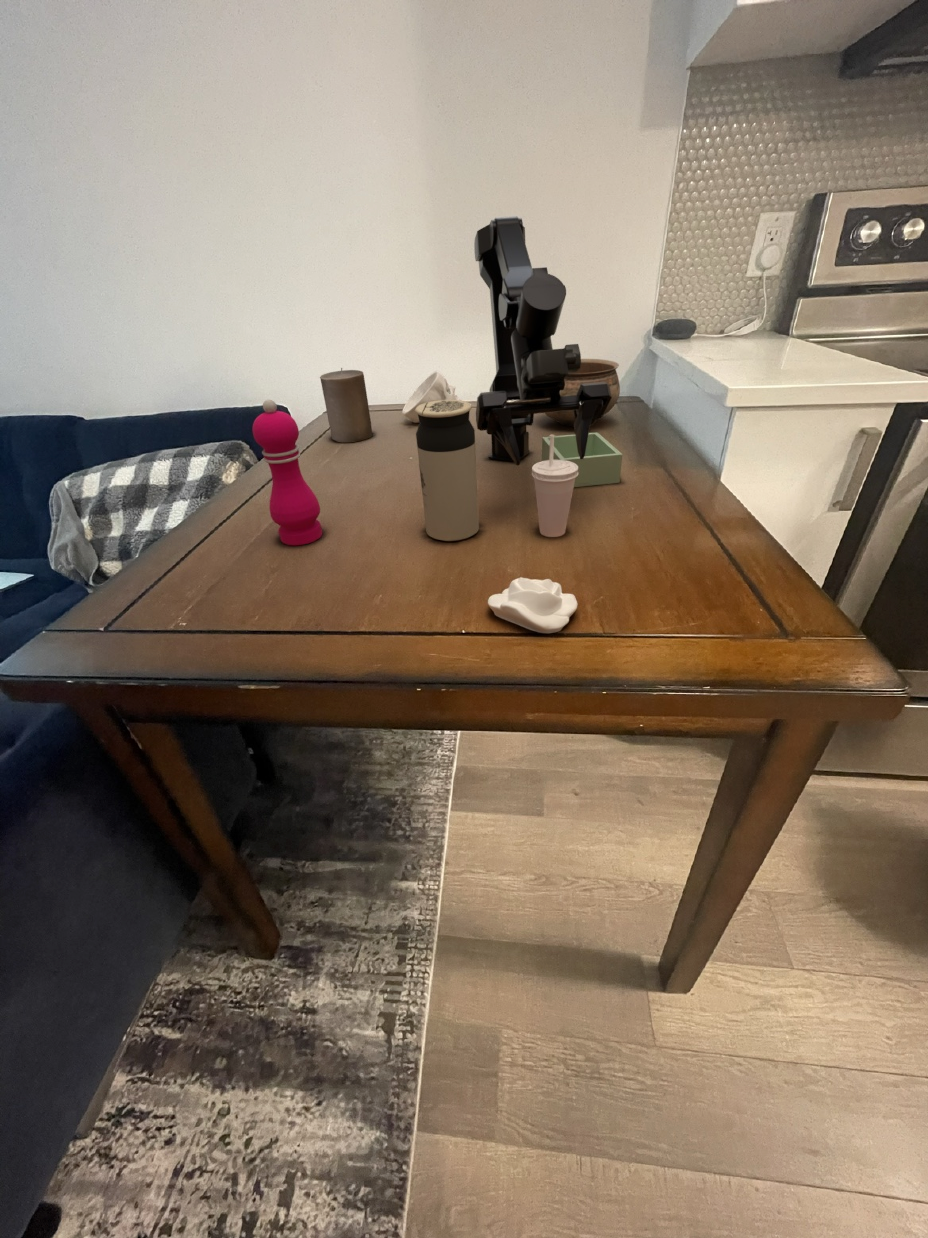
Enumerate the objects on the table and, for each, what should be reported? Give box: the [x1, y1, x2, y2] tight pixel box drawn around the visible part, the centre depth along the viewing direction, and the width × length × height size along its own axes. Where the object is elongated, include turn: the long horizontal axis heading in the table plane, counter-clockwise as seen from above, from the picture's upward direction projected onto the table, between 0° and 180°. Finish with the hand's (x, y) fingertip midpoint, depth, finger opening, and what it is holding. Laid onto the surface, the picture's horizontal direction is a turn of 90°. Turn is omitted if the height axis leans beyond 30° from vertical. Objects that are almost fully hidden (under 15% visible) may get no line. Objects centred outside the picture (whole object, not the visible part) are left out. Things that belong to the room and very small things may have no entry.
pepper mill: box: [252, 398, 323, 546], centre depth 78 cm, size 7×7×20 cm
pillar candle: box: [319, 367, 374, 443], centre depth 123 cm, size 10×10×15 cm
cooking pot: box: [544, 358, 621, 427], centre depth 123 cm, size 25×19×12 cm
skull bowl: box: [401, 370, 463, 424], centre depth 134 cm, size 10×14×12 cm
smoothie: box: [531, 433, 579, 538], centre depth 76 cm, size 6×6×14 cm
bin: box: [541, 431, 623, 488], centre depth 98 cm, size 14×11×5 cm
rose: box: [487, 576, 578, 634], centre depth 61 cm, size 10×4×10 cm
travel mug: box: [415, 399, 480, 542], centre depth 77 cm, size 8×8×18 cm
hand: (550, 460), depth 76 cm, fingers open, 9 cm apart
